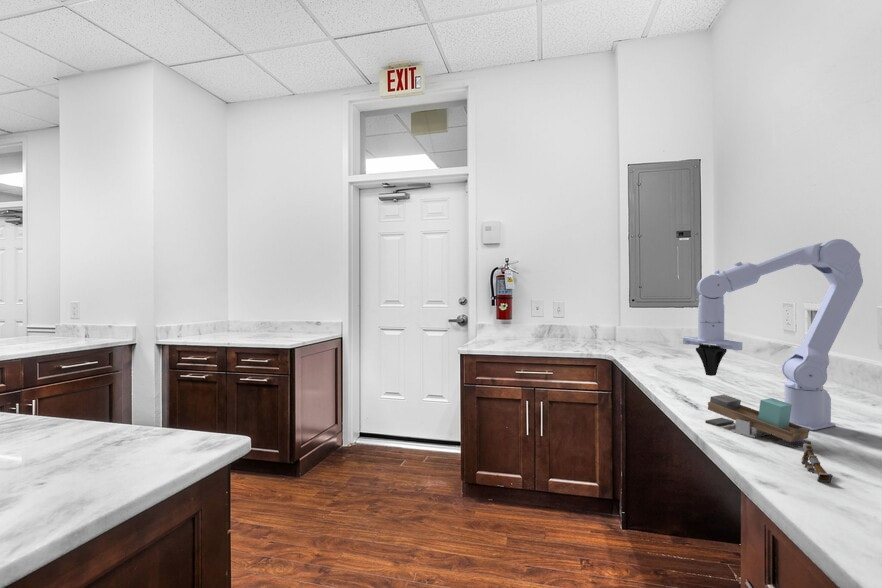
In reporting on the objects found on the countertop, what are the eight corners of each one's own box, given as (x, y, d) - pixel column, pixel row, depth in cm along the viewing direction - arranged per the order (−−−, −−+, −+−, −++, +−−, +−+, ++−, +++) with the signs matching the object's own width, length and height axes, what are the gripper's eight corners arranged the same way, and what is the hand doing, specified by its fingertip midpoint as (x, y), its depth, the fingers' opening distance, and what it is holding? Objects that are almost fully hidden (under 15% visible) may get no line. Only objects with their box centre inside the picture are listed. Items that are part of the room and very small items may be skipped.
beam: (724, 409, 109) (726, 394, 109) (807, 441, 93) (810, 423, 93) (706, 412, 107) (708, 396, 106) (789, 445, 90) (792, 427, 90)
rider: (768, 419, 99) (771, 398, 98) (788, 426, 95) (791, 404, 95) (757, 421, 97) (760, 399, 97) (777, 429, 94) (780, 406, 93)
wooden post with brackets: (807, 459, 82) (811, 440, 80) (827, 494, 75) (833, 474, 73) (795, 458, 82) (799, 439, 81) (814, 493, 75) (819, 473, 74)
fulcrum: (724, 419, 110) (724, 406, 110) (813, 443, 93) (813, 428, 93) (702, 423, 107) (702, 409, 107) (790, 448, 90) (790, 433, 89)
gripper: (675, 320, 118) (674, 371, 118) (729, 324, 105) (728, 381, 105) (693, 320, 121) (693, 369, 121) (748, 323, 108) (747, 379, 108)
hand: (710, 375), depth 113 cm, fingers closed
